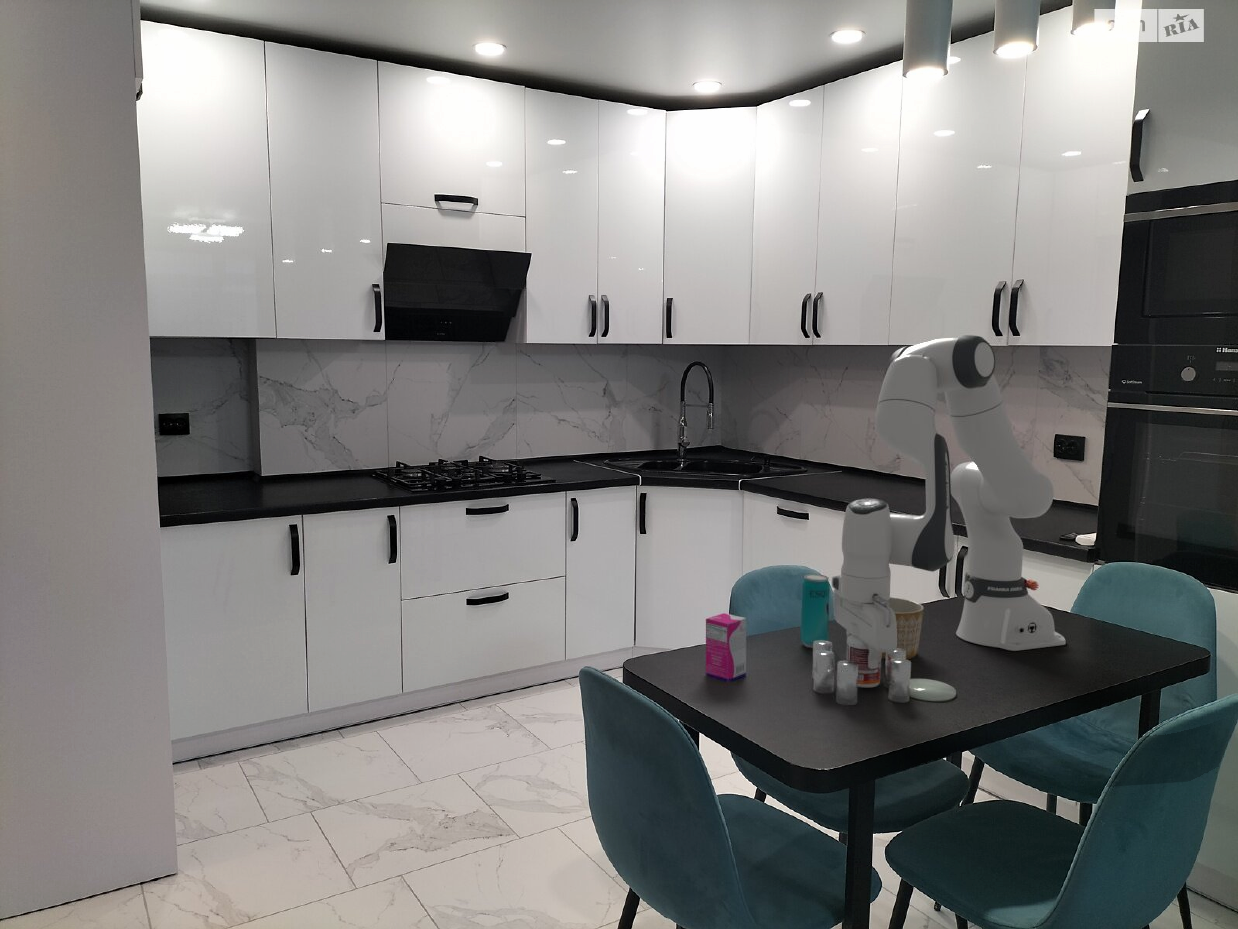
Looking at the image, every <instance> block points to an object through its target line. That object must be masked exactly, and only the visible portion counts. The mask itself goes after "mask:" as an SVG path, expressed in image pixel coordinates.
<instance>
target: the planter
mask: <svg viewBox="0 0 1238 929" xmlns="http://www.w3.org/2000/svg"><path fill="white" fill-rule="evenodd" d="M888 602H889V606H890V608H891V609H892V610H893V611H894V613H895V616H896V624H897V647H896V648H901V649H904V650H906V660H911V659H913V658H914V657H916V656H917V654H918V651H919V644H920V638H921V637H920V636H921V630H922V623H923V617H924V616H923V615H924V612H925V611H924V610H925V608H924V607H925V606H923V605H922V603H919V602H917V601H914V600H911V599H905V598H902V597H901V598H900V597H891V596H890V599H889V600H888ZM881 660H886V652H884V653H882V654H881Z"/></svg>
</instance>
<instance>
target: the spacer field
mask: <svg viewBox="0 0 1238 929" xmlns="http://www.w3.org/2000/svg"><path fill="white" fill-rule="evenodd" d="M881 654H882V653H881ZM835 656H836V654H835V652H833V643H832V642H831V641H828V640H827V641H825V640H817V641H814V642H813V648H812V672H811V675H812V676H811V677H812V680H813V691H814V692H816V693H819V694H832V693H833V692H834V685H835V684H834V683H835V679H834V678H835ZM836 665H837V666H836V668H837V670H836V693H835V694H836V697H835V702H836V703H837V704H839V705H843V706H854V705H857V703H858V687H857V685H858V663H856V662H853V661H847V660H839V661H837V664H836ZM884 665H885V666H884V667H885V669H884V687H885V688H886V689H888V699H889V700H890V701H892V702H895V703H901V704H902V703H908V702H909V701H910V698H911V697H910V679H911V676H912V674H911V672H912V662H911V660H910V659H907V660H906V650H904V649H901V648H896V649H895V651H894V652H886V659H885V664H884ZM881 671H882V669H881V670H880V678H881V677H882V676H881V673H882V672H881Z"/></svg>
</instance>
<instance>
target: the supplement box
mask: <svg viewBox="0 0 1238 929" xmlns="http://www.w3.org/2000/svg"><path fill="white" fill-rule="evenodd" d="M705 675H706V676H708V677H711V678H714V679H717V680H720V681H723V682H726V683H730V682H733V681H735V680H738V679H740V678H743V677H745V676H747V618H746V617H742V616H737V615H733V614H730V613H725V612H723V613H720V614H716V615H714V616H711V617H708V618H706V619H705Z"/></svg>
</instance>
